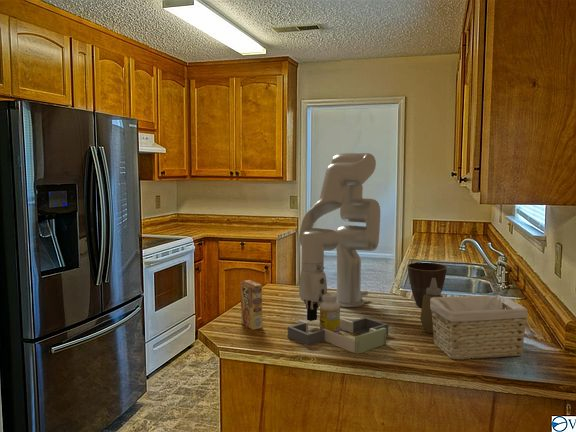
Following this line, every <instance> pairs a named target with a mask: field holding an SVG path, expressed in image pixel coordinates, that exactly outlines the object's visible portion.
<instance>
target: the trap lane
mask: <svg viewBox="0 0 576 432" xmlns="http://www.w3.org/2000/svg"><path fill="white" fill-rule="evenodd" d="M297 321H298V323H297V324H293V325H290V326H287V338H289V339H291V340H292V341H295V342H298V343H300V344H302V345H305V346H307V347H309V346H313V345H315V344H316V345H317V344H319V343H322V342H327V343H328V344H332V345H334V346H337V347H339V348H341V349H343V350H346V351H349V352H351V353H354V354H357V355H358V354H361V353H364V352H366V351H369V350H373V349H375V348H378V347H380V346H381V347H382V346H383V345H386V344H387V336H388V335H389V324H388V323H385V322H382V321H378V320H375V319H373V318H369V317H367V316H363V317H361V318H358V319H354V320H350V319H349V320H348V319H346V318H343V317H340V330H342V331H345V332H348V333H355V334H358V335H356V336H354V339H353V338H351V337H349V336H345V335H342V334H341V333H335V332H332V331H330V330H327V329H322V330H320V329H318V330H316V331H312V332H309V321H305V320H302V319H298V320H297Z"/></svg>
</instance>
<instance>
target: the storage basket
mask: <svg viewBox="0 0 576 432" xmlns="http://www.w3.org/2000/svg"><path fill="white" fill-rule="evenodd" d="M430 309H431V312H432V321H433V331H434V332H433V333H432V334H433V343H434V344H435V345H436V346H437V347H438V348H439V349H440V350H441V351H442V352H443V351H444V352H443V353H444V354H445V353H446V355H447V356H448V358H450V359H452V360H460V359H461V360H467V359H468V360H471V358H472V359H484V358H485V359H486V358H502V357H505V358H506V357H517V356H522V355H523V350H524V349H523V348H524V339H525V331H526V324H527V322H528V321H527V319H528V309H527V308H526V307H524V306H523V305H521V304H519V303H517V301H516V302H515V301H513V300H511V299H509V298H508V297H504V296H502V295H499V294H497V295H474V296H471V295H470V296H469V295H467V296H443V297H433V298H431V299H430Z"/></svg>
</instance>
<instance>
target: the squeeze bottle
mask: <svg viewBox="0 0 576 432" xmlns="http://www.w3.org/2000/svg"><path fill="white" fill-rule="evenodd" d="M426 293H427V294H425V295H424V296H423V302H422V308H421V309H420V310H421V312H420V318H419V319H420V322H421V325H422V329H423V331H424V332H426V333H430V334H434V333H433V332H434V331H433V321H432V312H431V309H430V299H431V298H433V297H444V296H443V295H442V292H441V289H439V288H437V282H436V278H432V280H431V284H430V288H427V289H426ZM440 294H441V295H440Z"/></svg>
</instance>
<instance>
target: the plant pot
mask: <svg viewBox="0 0 576 432" xmlns="http://www.w3.org/2000/svg"><path fill="white" fill-rule="evenodd" d="M447 269H448V266H447V265H444V264H441V263H435V262H413V263H409V264H407V273H408V279H409V285H410V289H411V293H412V296H413V299H414V303H415V305H416V307H418V308H421V309H422V302H423V296H424V295H425V294H427V293H426V289H427V288H430V284H431V280H432V278H436V282H437V288H439V289H441V294H440V295H442V292H443V288H444V284H445V281H446V275H447V271H448V270H447Z"/></svg>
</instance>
